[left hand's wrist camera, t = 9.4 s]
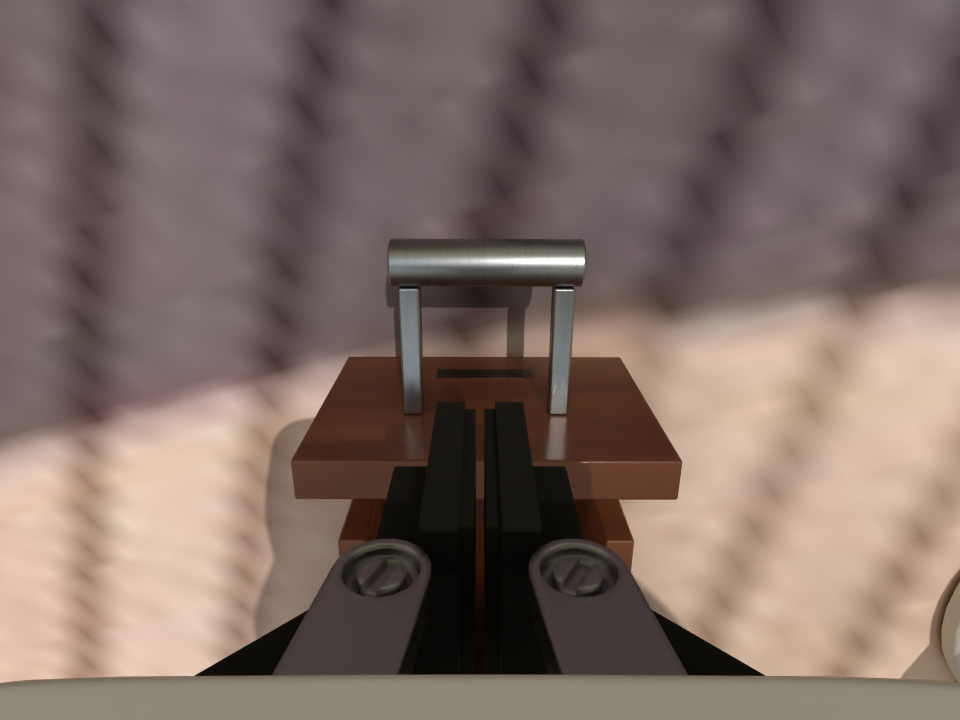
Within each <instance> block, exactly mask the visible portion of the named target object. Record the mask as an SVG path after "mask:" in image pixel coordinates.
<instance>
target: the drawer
mask: <svg viewBox="0 0 960 720" xmlns="http://www.w3.org/2000/svg"><path fill="white" fill-rule="evenodd" d="M585 274H586V247H585V243H584V240H582V239H391V240H390V241H389V245H388V276H389V282H390V284H391V286H400V287H399V289H398V302H399V325H400V347H401V357H349V358H348V360H347V362H346V363H345V365H344V367H343V369H342V370H341V372H340V374H339V376H338V378H337V379H336V381H335V383H334V385H333V387H332V388H331V390H330V392H329V394H328V396H327V397H326V399H325V401H324V403H323V405H322V406H321V408H320V410H319V412H318V414H317V415H316V417H315V419H314V421H313V422H312V424H311V426H310V428H309V430H308V431H307V433H306V435H305V437H304V439H303V440H302V442H301V444H300V446H299V448H298V449H297V451H296V453H295V455H294V457H293V458H292V460H291V465H292V474H293V482H294V491H295V497H296V499H352V501H351V504H350V507H349V510H348V513H347V516H346V519H345V522H344V525H343V528H342V531H341V534H340V537H339V540H338V545H339V556H341V555H342V554H344V553H345V552H347V551H348V550H349V549H351V548H352V547H354V546H357V545H359V544H362V543H364V542H367V541H373V540H376V538H377V534H378V530H379V526H380V522H381V518H382V514H383V510H384V506H385V502H386V498H387V494H388V490H389V486H390V482H391V478H392V474H393V470H394V467H395V466H427V465H428V458H429V451H430V445H431V438H432V432H433V425H434V419H435V412H436V406H437V402H465V409H476V582H475V675H485V582H484V409H495V402H523V406H524V412H525V419H526V425H527V432H528V438H529V445H530V451H531V458H532V465H533V466H565V467H566V470H567V474H568V478H569V482H570V486H571V490H572V494H573V498H574V502H575V506H576V510H577V514H578V518H579V522H580V526H581V530H582V534H583V538H584V540H587V541H593V542H596V543H598V544H601V545H603V546H606V547H608V548H609V549H611V550H612V551H613V552H615V553H616V554H618V555H619V556H620V557H621V559H622V560H623V561H624V562H625V564H626V565H627V567H628V568H629V570H630V572H631V565H632V556H633V546H634V540H633V537H632V535H631V532H630V529H629V526H628V524H627V521H626V518H625V516H624V513H623V510H622V507H621V505H620V502H619V499H648V500H676V499H677V497H678V490H679V483H680V475H681V468H682V460H681V459H680V457H679V455H678V454H677V452H676V450H675V449H674V447H673V445H672V444H671V442H670V440H669V439H668V437H667V435H666V434H665V432H664V430H663V429H662V427H661V425H660V424H659V422H658V420H657V419H656V417H655V415H654V414H653V412H652V410H651V409H650V407H649V405H648V404H647V402H646V400H645V399H644V397H643V395H642V394H641V392H640V390H639V389H638V387H637V385H636V384H635V382H634V380H633V379H632V377H631V375H630V374H629V372H628V370H627V369H626V367H625V365H624V364H623V362H622V360H621V358H619V357H571V355H572V337H573V320H574V303H575V289H574V287H581V286H582V285H583V283H584V280H585ZM421 286H459V287H552V303H551V325H550V348H549V357H423V346H422V314H421Z"/></svg>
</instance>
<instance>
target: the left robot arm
mask: <svg viewBox="0 0 960 720" xmlns="http://www.w3.org/2000/svg"><path fill="white" fill-rule="evenodd" d="M475 582H476V409H465V402H437V406H436V412H435V419H434V425H433V432H432V438H431V445H430V451H429V458H428V465H427V466H395V467H394V470H393V474H392V478H391V482H390V486H389V490H388V494H387V498H386V502H385V506H384V510H383V514H382V518H381V522H380V526H379V530H378V534H377V538H376V540H373V541H367V542H364V543H362V544H359V545H357V546H354V547H352V548H351V549H349V550H348V551H347V552H345V553H344V554H342V555H341V556H340V557H339V559H338V560H337V561H336V562H335V564H334V565H333V567H332V568H331V570H330V572H329V574H328V576H327V577H326V579H325V581H324V583H323V585H322V586H321V588H320V590H319V592H318V593H317V595H316V597H315V599H314V601H313V602H312V604H311V606H310V608H309V610H307V611H306V612H304V613H302V614H300V615H299V616H297V617H295V618H293V619H292V620H290V621H288V622H287V623H285V624H283V625H281V626H280V627H278V628H276V629H274V630H273V631H271V632H269V633H268V634H266V635H264V636H262V637H261V638H259V639H257V640H255V641H254V642H252V643H250V644H249V645H247V646H245V647H243V648H242V649H240V650H238V651H236V652H235V653H233V654H231V655H230V656H228V657H226V658H224V659H223V660H221V661H219V662H217V663H216V664H214V665H212V666H211V667H209V668H207V669H205V670H204V671H202V672H200V673H198V674H197V675H195V676H137V677H97V678H70V679H43V680H24V681H14V682H5V683H0V720H960V582H959V584H958V585H957V587H956V589H955V591H954V593H953V595H952V597H951V599H950V601H949V603H948V605H947V608H946V611H945V616H944V620H943V624H942V628H941V635H942V650H943V654H944V657H945V660H946V664H947V666H948V668H949V669H950V671H951V672H952V674H953V675H954V677H955V678H956V680H957V681H958V682H959V683H955V682H946V681H936V680H917V679H890V678H863V677H828V676H765V675H763V674H762V673H760V672H758V671H756V670H755V669H753V668H751V667H749V666H748V665H746V664H744V663H743V662H741V661H739V660H737V659H736V658H734V657H732V656H730V655H729V654H727V653H725V652H724V651H722V650H720V649H718V648H717V647H715V646H713V645H711V644H710V643H708V642H706V641H705V640H703V639H701V638H699V637H698V636H696V635H694V634H692V633H691V632H689V631H687V630H686V629H684V628H682V627H680V626H679V625H677V624H675V623H673V622H672V621H670V620H668V619H667V618H665V617H663V616H661V615H660V614H658V613H656V612H654V611H653V610H651V608H650V606H649V604H648V602H647V601H646V599H645V597H644V595H643V593H642V592H641V590H640V588H639V586H638V585H637V583H636V581H635V579H634V577H633V576H632V574H631V572H630V570H629V568H628V567H627V565H626V564H625V562H624V561H623V560H622V559H621V557H620V556H619V555H618V554H616V553H615V552H613V551H612V550H611V549H609V548H608V547H606V546H603V545H601V544H598V543H596V542H593V541H587V540H584V538H583V534H582V530H581V526H580V522H579V518H578V514H577V510H576V506H575V502H574V498H573V494H572V490H571V486H570V482H569V478H568V474H567V470H566V467H565V466H533V465H532V458H531V451H530V445H529V438H528V432H527V425H526V419H525V412H524V406H523V402H495V409H484V582H485V675H475Z"/></svg>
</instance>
